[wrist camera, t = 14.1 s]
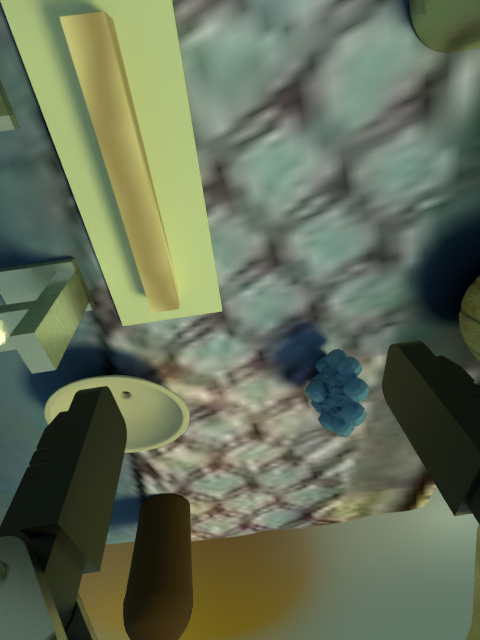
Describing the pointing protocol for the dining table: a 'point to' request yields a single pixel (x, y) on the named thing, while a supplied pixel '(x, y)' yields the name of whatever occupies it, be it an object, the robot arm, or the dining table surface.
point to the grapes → (338, 393)
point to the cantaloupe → (471, 318)
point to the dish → (132, 409)
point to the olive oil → (160, 571)
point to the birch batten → (123, 150)
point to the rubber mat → (157, 134)
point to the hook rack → (39, 298)
